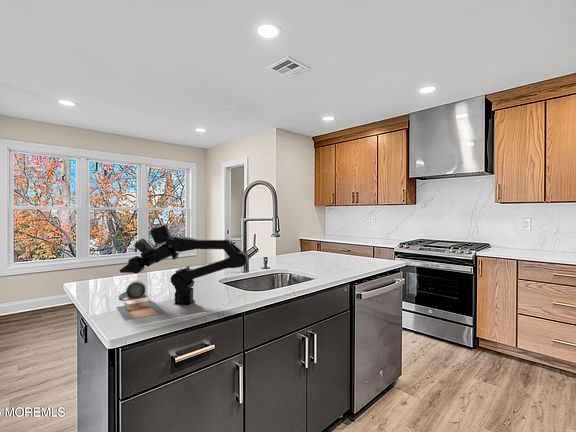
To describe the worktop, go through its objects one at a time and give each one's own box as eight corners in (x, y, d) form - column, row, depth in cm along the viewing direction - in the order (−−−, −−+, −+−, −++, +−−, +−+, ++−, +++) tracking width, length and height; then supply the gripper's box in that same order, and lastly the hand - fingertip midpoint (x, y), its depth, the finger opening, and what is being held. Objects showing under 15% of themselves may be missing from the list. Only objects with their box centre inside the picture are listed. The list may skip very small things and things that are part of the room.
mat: (153, 302, 131) (153, 300, 131) (166, 313, 117) (166, 312, 117) (115, 307, 123) (115, 306, 123) (125, 321, 109) (125, 320, 109)
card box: (147, 303, 128) (147, 297, 128) (151, 306, 124) (151, 300, 124) (124, 306, 123) (124, 300, 123) (127, 310, 119) (127, 304, 119)
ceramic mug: (145, 294, 143) (145, 277, 142) (145, 299, 135) (145, 281, 135) (119, 297, 138) (118, 279, 138) (117, 302, 131) (117, 284, 131)
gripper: (159, 232, 138) (127, 246, 138) (142, 239, 120) (104, 255, 120) (170, 255, 139) (138, 269, 139) (154, 265, 121) (117, 281, 121)
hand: (125, 268), depth 130 cm, fingers open, 9 cm apart
